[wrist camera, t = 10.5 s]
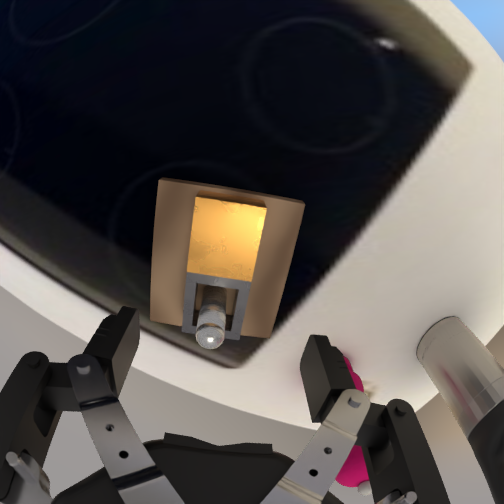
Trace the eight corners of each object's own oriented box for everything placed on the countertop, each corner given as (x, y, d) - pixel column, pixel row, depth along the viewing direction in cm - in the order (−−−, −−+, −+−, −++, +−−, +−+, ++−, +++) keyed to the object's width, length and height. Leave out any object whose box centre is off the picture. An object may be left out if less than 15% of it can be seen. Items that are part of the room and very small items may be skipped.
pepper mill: (299, 387, 40) (324, 511, 21) (308, 351, 37) (346, 489, 19) (345, 385, 40) (384, 498, 22) (358, 349, 38) (413, 472, 19)
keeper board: (302, 200, 29) (305, 204, 28) (268, 330, 35) (269, 338, 34) (162, 177, 28) (158, 179, 27) (153, 313, 34) (150, 320, 32)
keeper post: (228, 285, 31) (226, 334, 23) (225, 305, 32) (222, 356, 24) (204, 281, 31) (195, 329, 23) (202, 301, 32) (192, 352, 24)
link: (264, 200, 28) (266, 208, 25) (239, 323, 33) (239, 340, 30) (200, 190, 27) (195, 196, 24) (185, 315, 32) (181, 331, 30)
